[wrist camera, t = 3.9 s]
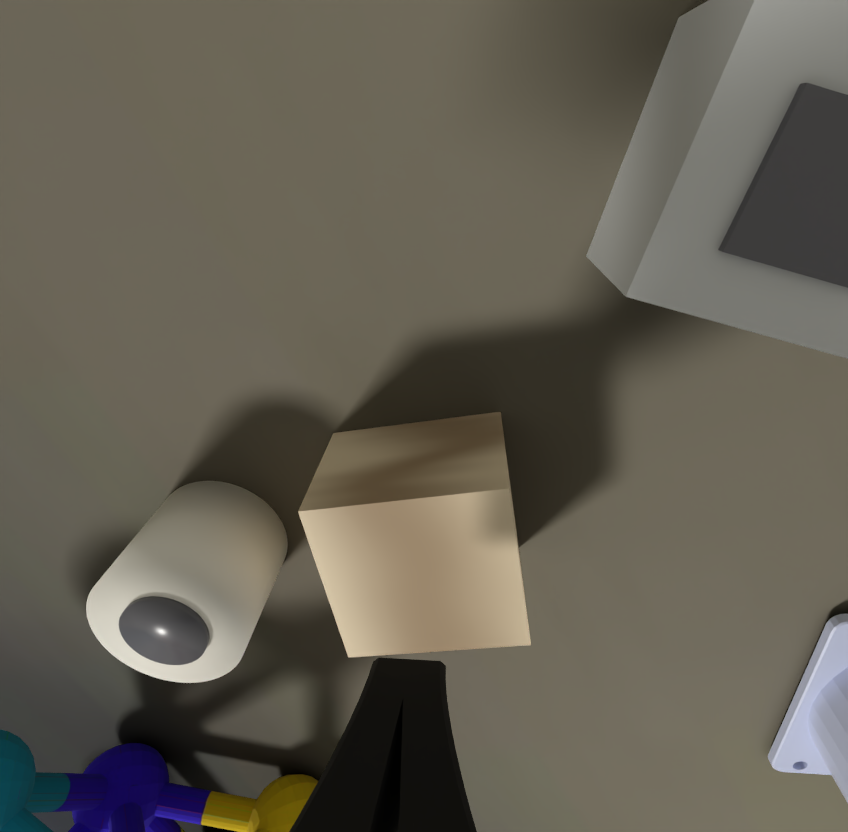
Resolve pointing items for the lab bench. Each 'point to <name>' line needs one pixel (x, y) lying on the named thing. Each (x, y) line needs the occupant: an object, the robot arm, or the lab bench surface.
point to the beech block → (418, 537)
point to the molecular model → (135, 795)
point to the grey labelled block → (741, 174)
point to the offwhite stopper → (190, 584)
